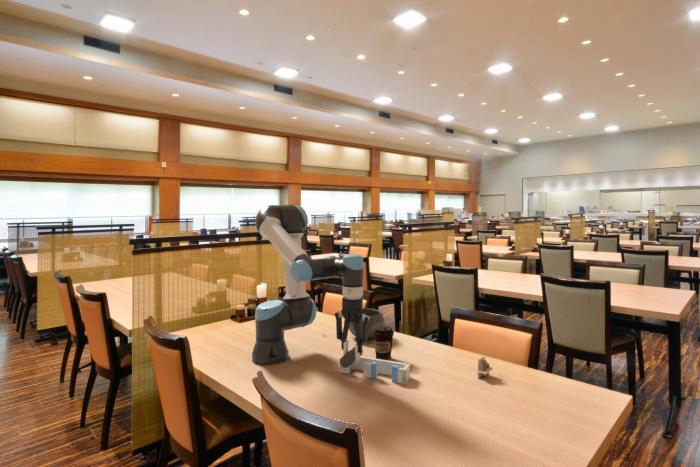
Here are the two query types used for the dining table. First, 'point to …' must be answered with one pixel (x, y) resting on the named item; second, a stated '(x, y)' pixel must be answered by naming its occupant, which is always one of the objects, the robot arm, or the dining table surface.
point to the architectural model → (483, 367)
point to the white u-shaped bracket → (380, 369)
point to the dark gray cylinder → (348, 358)
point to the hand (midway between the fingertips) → (351, 359)
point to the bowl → (370, 322)
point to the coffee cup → (383, 342)
